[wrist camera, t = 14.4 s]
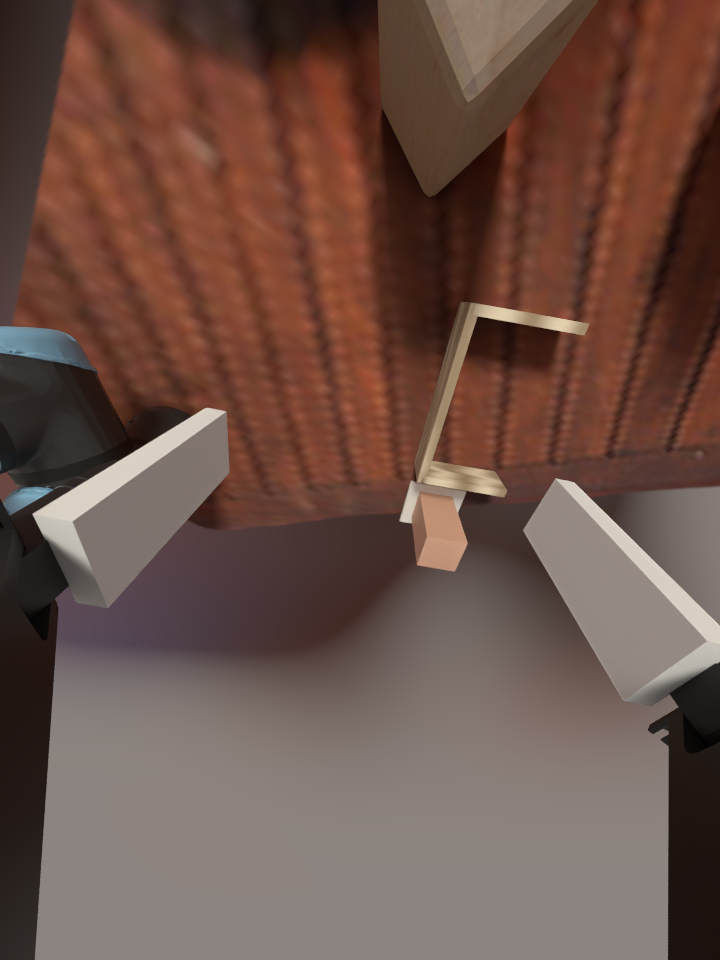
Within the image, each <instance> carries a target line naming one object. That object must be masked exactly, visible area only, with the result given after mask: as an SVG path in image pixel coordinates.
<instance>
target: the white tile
mask: <svg viewBox="0 0 720 960" xmlns="http://www.w3.org/2000/svg"><path fill="white" fill-rule="evenodd" d="M419 491H421V492H426V493H432V494H438V495H444V496H450V497H453V500H454V504H455V507H456V510H457V513H458V511H459V509H460V506H461V504H462V502H463V499H464V497H465V494H466V491H464V490H458V489H453V488H447V487H441V486H435V485H429V484H423V483H418V482H417V481H410V485H409V488H408V492H407V495H406V499H405V502H404V506H403V509H402V513H401V516H400V521H401V522H406V523H412V518H411V517H412V514H413V511H414V507H415V504H416V501H417V498H418V494H419Z"/></svg>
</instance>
